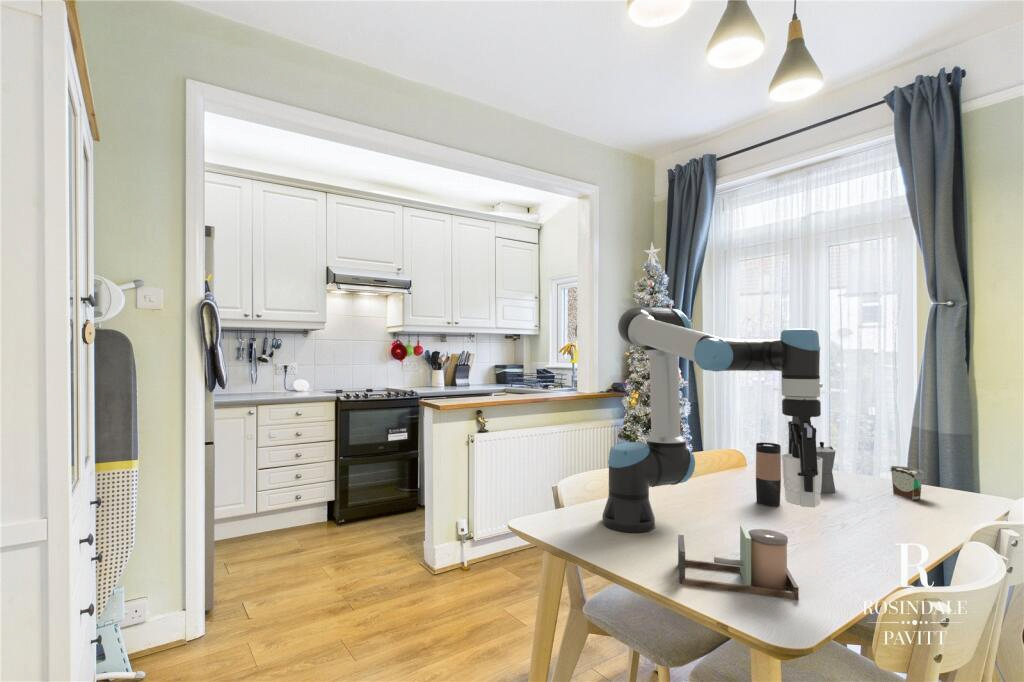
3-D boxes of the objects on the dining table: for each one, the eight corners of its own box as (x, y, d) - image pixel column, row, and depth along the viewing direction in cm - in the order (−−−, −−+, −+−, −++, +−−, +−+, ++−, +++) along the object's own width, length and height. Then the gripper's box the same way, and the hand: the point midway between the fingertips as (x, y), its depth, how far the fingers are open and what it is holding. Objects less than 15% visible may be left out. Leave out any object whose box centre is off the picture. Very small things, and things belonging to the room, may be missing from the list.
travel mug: (781, 502, 176) (781, 443, 177) (779, 508, 170) (779, 447, 170) (757, 498, 180) (757, 441, 181) (754, 504, 174) (754, 444, 174)
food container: (933, 502, 178) (933, 473, 178) (915, 502, 178) (915, 473, 178) (907, 493, 190) (907, 465, 191) (890, 492, 191) (890, 465, 191)
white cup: (829, 508, 110) (828, 461, 110) (788, 506, 111) (788, 459, 111) (815, 498, 117) (814, 454, 118) (777, 496, 119) (777, 453, 119)
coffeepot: (827, 495, 186) (827, 445, 186) (800, 489, 193) (800, 441, 194) (846, 489, 195) (846, 441, 195) (819, 483, 202) (819, 437, 203)
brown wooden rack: (679, 584, 113) (679, 551, 113) (678, 563, 124) (678, 534, 124) (798, 599, 106) (798, 565, 106) (785, 576, 117) (785, 545, 118)
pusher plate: (715, 584, 112) (716, 534, 112) (712, 568, 121) (712, 522, 121) (751, 589, 110) (751, 538, 110) (744, 572, 119) (744, 525, 119)
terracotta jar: (751, 589, 111) (751, 539, 111) (745, 575, 118) (745, 527, 118) (791, 595, 108) (791, 543, 109) (783, 579, 116) (783, 531, 116)
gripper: (834, 401, 104) (836, 516, 103) (807, 395, 124) (809, 491, 123) (793, 400, 106) (795, 513, 105) (773, 394, 126) (774, 489, 125)
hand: (802, 501), depth 114 cm, fingers closed on white cup, 7 cm apart
